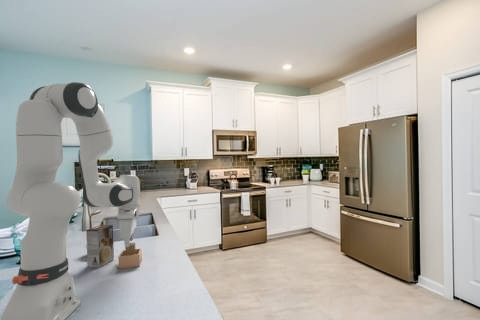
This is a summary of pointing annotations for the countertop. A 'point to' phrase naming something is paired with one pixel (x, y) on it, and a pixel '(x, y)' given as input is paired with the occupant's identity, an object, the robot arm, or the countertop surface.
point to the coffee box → (99, 245)
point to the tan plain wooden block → (130, 249)
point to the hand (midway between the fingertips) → (128, 243)
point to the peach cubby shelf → (130, 259)
